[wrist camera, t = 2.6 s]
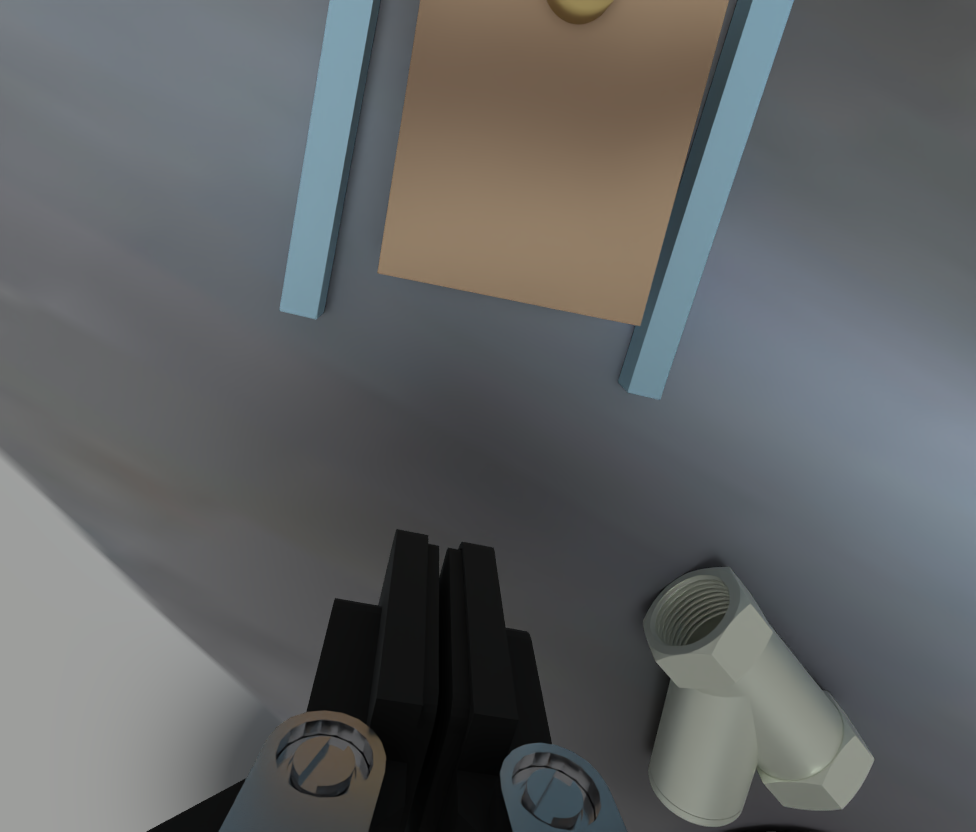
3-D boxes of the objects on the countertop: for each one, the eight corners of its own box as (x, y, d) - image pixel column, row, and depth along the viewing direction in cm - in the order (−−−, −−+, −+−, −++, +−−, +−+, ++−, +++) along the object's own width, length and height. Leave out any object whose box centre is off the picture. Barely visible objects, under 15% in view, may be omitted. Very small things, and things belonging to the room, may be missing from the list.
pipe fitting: (679, 782, 27) (835, 696, 25) (709, 880, 23) (892, 787, 22) (556, 649, 25) (717, 547, 23) (566, 735, 21) (759, 620, 19)
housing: (596, 296, 20) (655, 336, 14) (395, 255, 20) (371, 279, 14) (671, -3, 18) (777, -102, 12) (446, -61, 17) (444, -194, 12)
